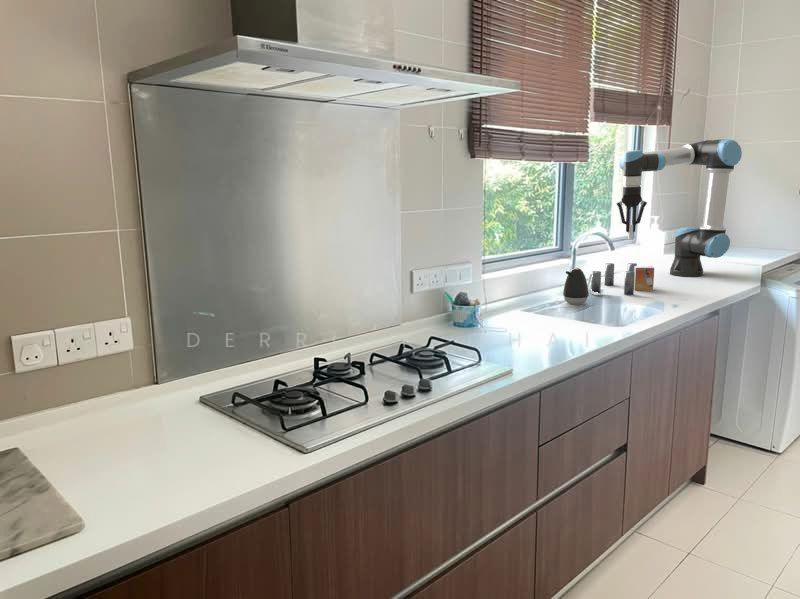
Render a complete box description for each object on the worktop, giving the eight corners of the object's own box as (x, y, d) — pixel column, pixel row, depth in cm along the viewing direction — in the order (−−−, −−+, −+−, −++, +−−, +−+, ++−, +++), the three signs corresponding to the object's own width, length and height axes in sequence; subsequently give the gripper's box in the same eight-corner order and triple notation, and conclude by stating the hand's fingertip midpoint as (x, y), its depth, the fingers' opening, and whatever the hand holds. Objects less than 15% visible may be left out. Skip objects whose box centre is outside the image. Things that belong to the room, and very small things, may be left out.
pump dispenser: (557, 303, 269) (558, 267, 266) (577, 299, 273) (577, 264, 270) (573, 307, 260) (574, 271, 257) (593, 304, 264) (594, 268, 261)
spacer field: (635, 284, 300) (636, 263, 298) (644, 295, 277) (645, 272, 275) (586, 284, 304) (587, 263, 302) (591, 295, 281) (592, 272, 279)
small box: (634, 290, 286) (635, 267, 284) (632, 288, 292) (633, 265, 289) (653, 291, 284) (654, 267, 282) (651, 288, 290) (652, 265, 287)
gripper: (645, 185, 284) (644, 237, 289) (615, 186, 286) (614, 238, 291) (649, 186, 276) (647, 240, 282) (617, 187, 279) (616, 240, 284)
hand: (630, 239), depth 286 cm, fingers closed
